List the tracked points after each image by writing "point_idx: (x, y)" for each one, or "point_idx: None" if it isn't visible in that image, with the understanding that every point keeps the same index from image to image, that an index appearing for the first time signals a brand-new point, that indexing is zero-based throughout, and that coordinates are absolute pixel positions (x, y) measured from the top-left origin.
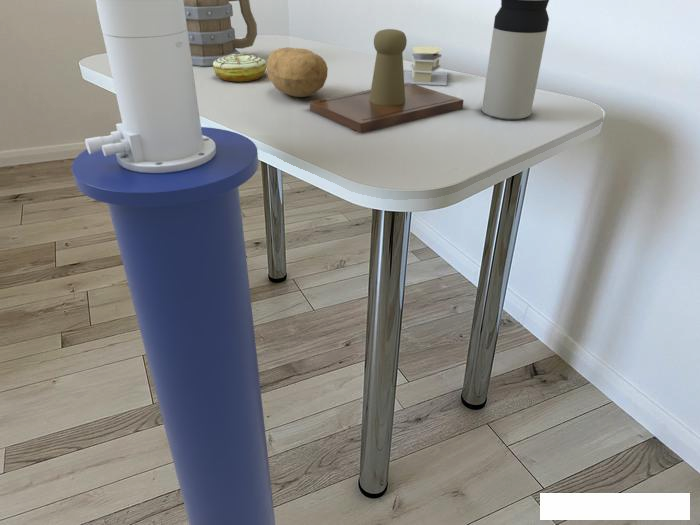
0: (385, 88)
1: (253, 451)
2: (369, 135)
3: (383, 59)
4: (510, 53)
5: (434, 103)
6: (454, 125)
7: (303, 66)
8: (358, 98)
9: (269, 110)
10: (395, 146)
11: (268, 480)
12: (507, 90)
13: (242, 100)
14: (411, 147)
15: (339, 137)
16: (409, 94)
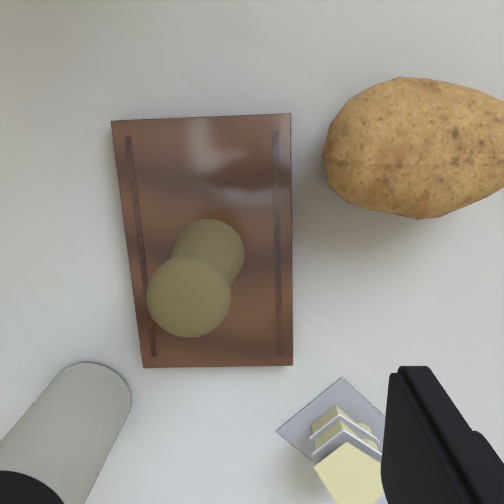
0: (180, 239)
1: None
2: (101, 129)
3: (180, 255)
4: (4, 441)
5: (147, 311)
6: (80, 287)
7: (344, 124)
8: (251, 214)
9: (340, 35)
10: (33, 133)
11: None
12: (40, 396)
13: (447, 15)
14: (18, 154)
15: (116, 72)
16: None
